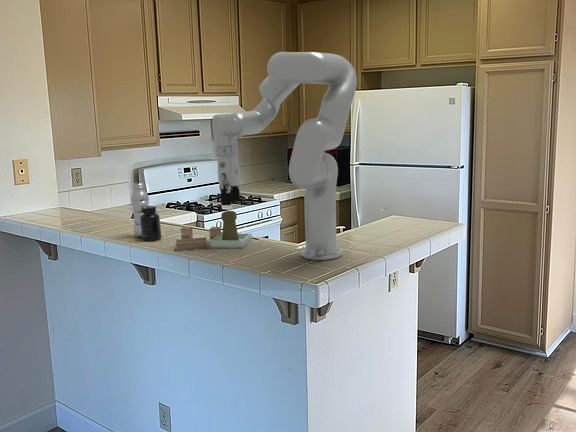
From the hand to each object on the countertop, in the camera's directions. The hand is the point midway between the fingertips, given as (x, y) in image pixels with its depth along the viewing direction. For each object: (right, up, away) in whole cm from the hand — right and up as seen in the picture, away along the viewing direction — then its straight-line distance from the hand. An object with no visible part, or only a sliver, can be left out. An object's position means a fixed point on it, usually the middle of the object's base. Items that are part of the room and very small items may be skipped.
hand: (231, 202), depth 191 cm
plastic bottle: (-35, -12, +20) cm, 42 cm away
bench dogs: (-11, -13, +9) cm, 20 cm away
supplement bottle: (-30, -13, +15) cm, 36 cm away
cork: (0, -14, +2) cm, 14 cm away
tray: (0, -14, +3) cm, 14 cm away
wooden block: (-13, -16, 0) cm, 20 cm away
